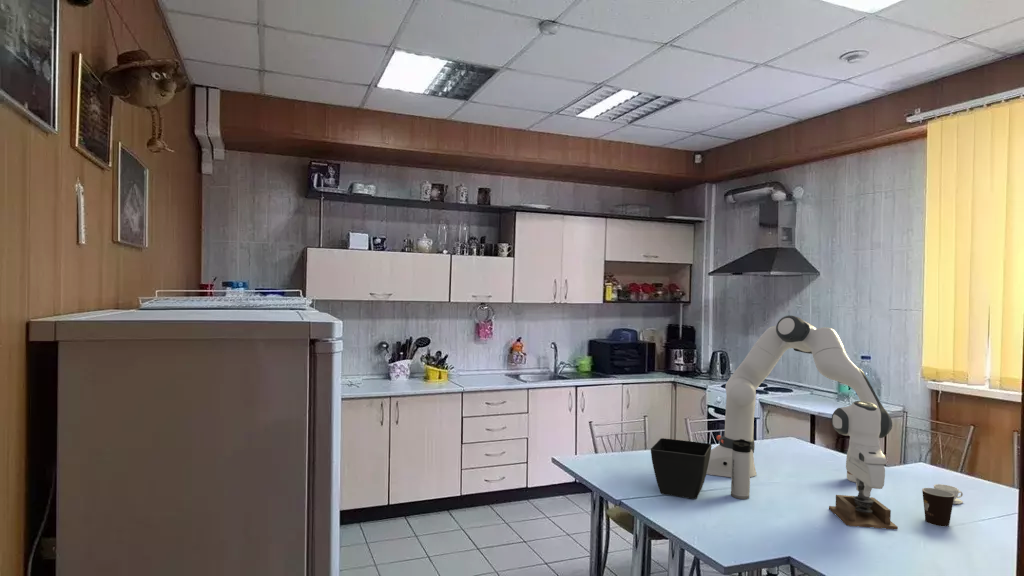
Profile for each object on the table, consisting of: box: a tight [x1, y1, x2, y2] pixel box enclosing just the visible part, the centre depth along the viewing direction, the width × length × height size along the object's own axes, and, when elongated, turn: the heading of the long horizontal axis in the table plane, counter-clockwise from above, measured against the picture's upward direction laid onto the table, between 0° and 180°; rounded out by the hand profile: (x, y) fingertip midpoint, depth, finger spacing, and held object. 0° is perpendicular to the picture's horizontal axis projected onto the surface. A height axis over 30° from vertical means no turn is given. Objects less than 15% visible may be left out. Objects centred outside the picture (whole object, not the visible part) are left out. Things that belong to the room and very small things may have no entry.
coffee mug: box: [921, 487, 954, 528], centre depth 198 cm, size 12×9×10 cm
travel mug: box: [730, 439, 751, 500], centre depth 216 cm, size 6×7×20 cm
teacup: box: [933, 483, 964, 505], centre depth 220 cm, size 10×10×5 cm
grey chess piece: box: [854, 480, 874, 513], centre depth 198 cm, size 6×6×12 cm
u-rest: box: [828, 494, 899, 530], centre depth 198 cm, size 15×15×6 cm
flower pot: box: [650, 437, 713, 500], centre depth 219 cm, size 19×19×17 cm
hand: (863, 493), depth 198 cm, fingers closed on grey chess piece, 3 cm apart
